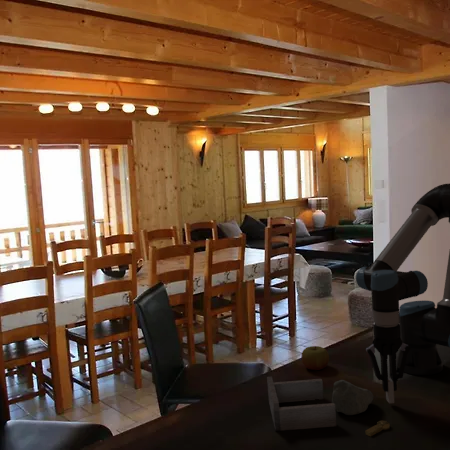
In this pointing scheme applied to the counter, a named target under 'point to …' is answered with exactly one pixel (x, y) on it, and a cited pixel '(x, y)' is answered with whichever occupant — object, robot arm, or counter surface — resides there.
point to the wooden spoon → (378, 428)
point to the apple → (315, 357)
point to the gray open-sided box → (299, 414)
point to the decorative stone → (350, 398)
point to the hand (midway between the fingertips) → (390, 401)
